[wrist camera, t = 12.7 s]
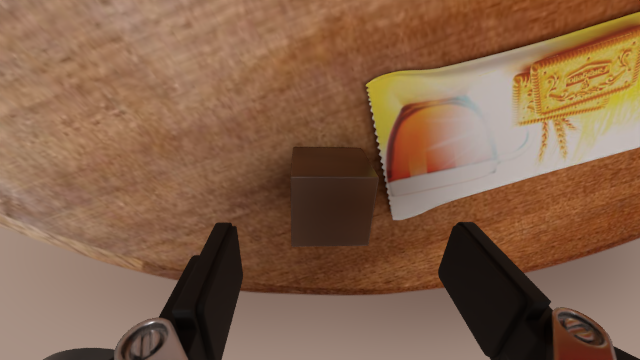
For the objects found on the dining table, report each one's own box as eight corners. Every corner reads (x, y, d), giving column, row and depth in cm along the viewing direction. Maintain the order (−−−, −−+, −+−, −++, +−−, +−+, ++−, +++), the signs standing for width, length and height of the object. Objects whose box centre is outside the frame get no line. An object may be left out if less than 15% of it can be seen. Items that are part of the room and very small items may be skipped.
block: (293, 205, 19) (291, 247, 15) (293, 146, 17) (290, 176, 13) (354, 205, 19) (368, 246, 15) (361, 147, 17) (379, 177, 13)
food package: (975, -107, 11) (835, 113, 16) (873, -83, 13) (774, 106, 18) (369, 83, 13) (397, 232, 18) (359, 79, 15) (387, 213, 20)
